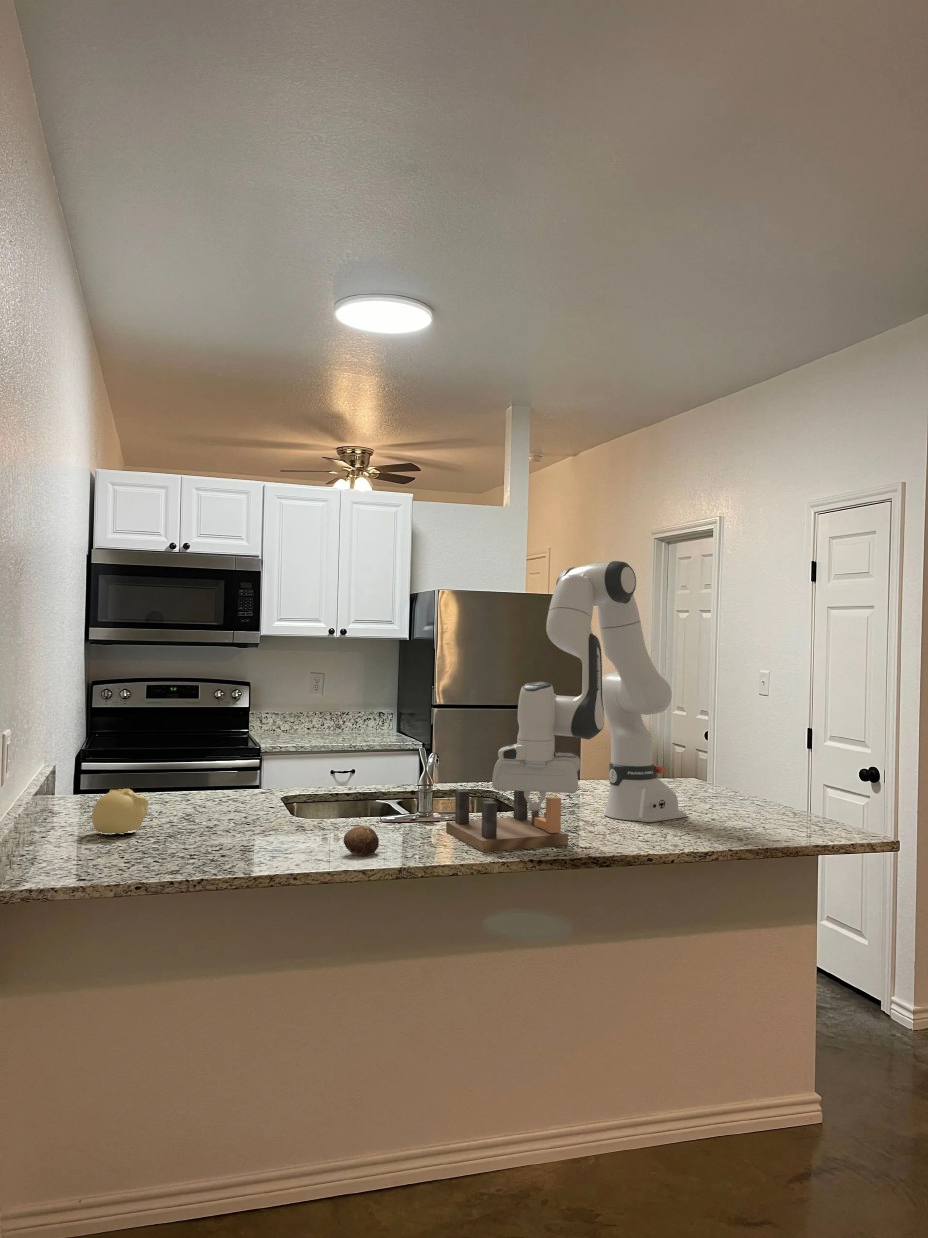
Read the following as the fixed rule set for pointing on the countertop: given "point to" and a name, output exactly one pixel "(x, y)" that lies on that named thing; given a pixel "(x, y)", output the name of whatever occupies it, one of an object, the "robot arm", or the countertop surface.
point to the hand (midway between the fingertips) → (534, 810)
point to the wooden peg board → (500, 826)
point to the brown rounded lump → (361, 841)
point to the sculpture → (119, 811)
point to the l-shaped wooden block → (550, 816)
